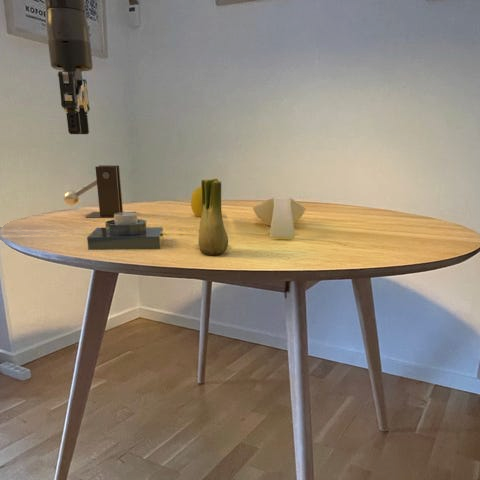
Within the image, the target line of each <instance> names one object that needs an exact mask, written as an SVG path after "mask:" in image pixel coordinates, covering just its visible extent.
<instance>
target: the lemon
mask: <svg viewBox="0 0 480 480" xmlns="http://www.w3.org/2000/svg"><path fill="white" fill-rule="evenodd" d="M190 207H191V208H190V209H191V210H192V213H193V215H195V216H196V217H198V218H201V213H202V185H201V184H200V186H198V187H197V188H195V189H194V190H193V191H192V194H191V198H190Z"/></svg>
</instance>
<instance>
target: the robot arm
mask: <svg viewBox="0 0 480 480" xmlns="http://www.w3.org/2000/svg"><path fill="white" fill-rule="evenodd" d="M43 1H44V9H45V30H46V36H47V37H46V38H47V45H48V52H49V60H50V61H49V62H50V66H51V68H52V69H54V70H57V71H58V72H57V77H58V84H59V93H60V106H61V107H62V109H63V110H64V112H65V114H66V122H67V123H66V124H67V131H68V133H69V134H70V135H88V134H90V126H89V118H88V117H89V116H88V115H89V112H90V110H91V107H90V103H89V93H88V82H87V81H88V80H87V79H85V78H83V73H82V72H89V71H92V69H93V57H92V49H91V48H92V47H91V36H90V27H89V22H88V17H87V11H86V10H87V9H86V0H43Z"/></svg>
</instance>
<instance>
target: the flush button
mask: <svg viewBox="0 0 480 480" xmlns="http://www.w3.org/2000/svg"><path fill="white" fill-rule="evenodd" d="M133 212H134V211H123V212H121V213H115V214H114V218H113V220H114V222H115V223H116V224H133V223H138V219H139V217H138V213H137V212H136V213H133Z"/></svg>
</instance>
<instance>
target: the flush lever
mask: <svg viewBox="0 0 480 480" xmlns="http://www.w3.org/2000/svg"><path fill="white" fill-rule="evenodd" d="M110 167H111V166H110ZM94 187H97V179H96V178H95V179H94V180H93V181H91V182H89V183H88V184H86V185H85V186H83V187H82V188H80V189H78V190H77V191H75V190H67V191H66V192H65V193H64V194H63V200H64V203H66V204H67V205H69V206H74V205H77V204H78V203H79V201H80V196H81V195H83V194H85V193H86V192H88V191H89V190H92V188H94Z"/></svg>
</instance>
